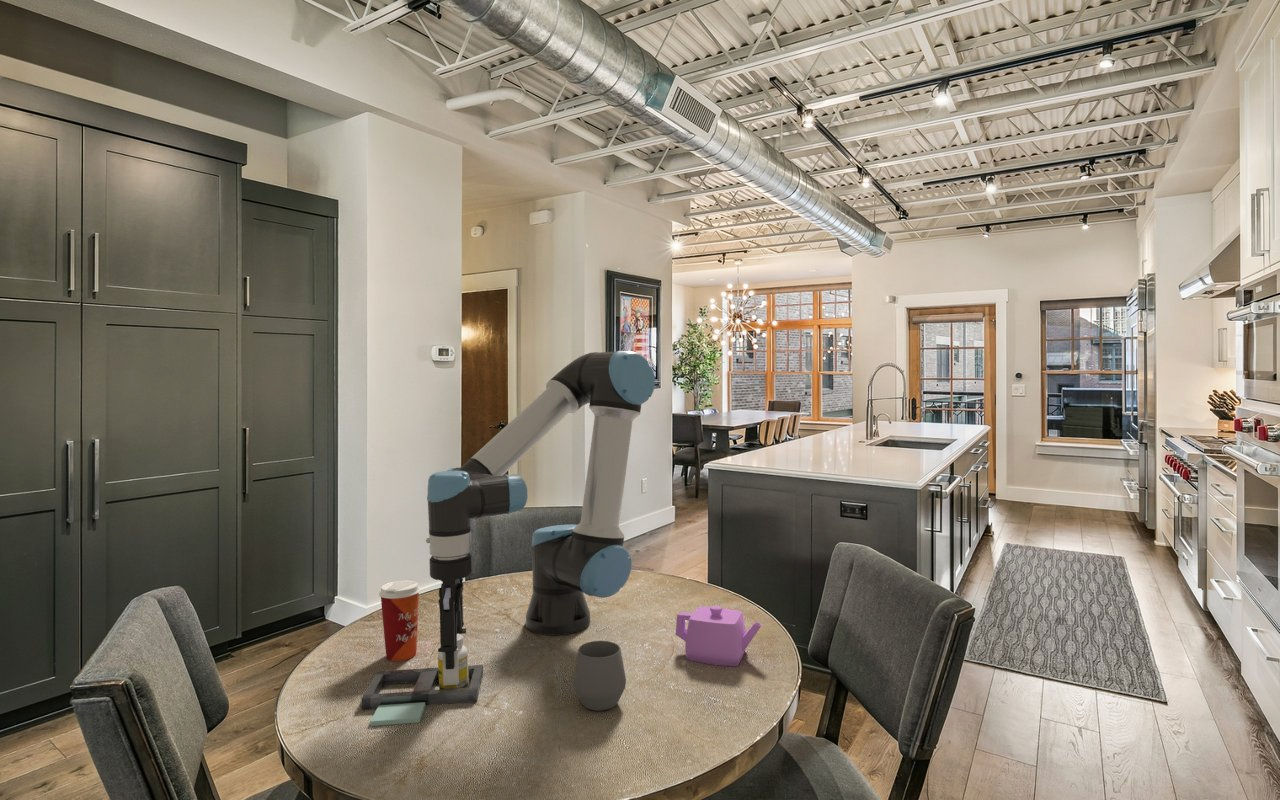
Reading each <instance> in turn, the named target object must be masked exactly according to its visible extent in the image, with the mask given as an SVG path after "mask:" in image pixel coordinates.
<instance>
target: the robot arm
mask: <svg viewBox="0 0 1280 800" xmlns="http://www.w3.org/2000/svg"><path fill="white" fill-rule="evenodd" d="M655 381H656V379H655V374H654V371H653V367H652V365H650V363H649V361H648V360H647V358H646V357H645V356H643V355H642V354H641V353H638V352H635V351H627V350H626V351H625V350H616V351H605V352H599V351H598V352H597V351H595V352H588V353H585V354H583V355H581V356H579V357H577V358H576V359H574V360H572V361H570V363H568V364H567V365H566V366H564V367H563V368H562V369H561V370H560V371H558V372H557V373H555V375H554V376H553V377H551V379H549V380H548V381H547V383H545V385H546V386H545V387H546V389H545V390H544V391H542V392H541V394H540V395H538V396H537V397H536V398H535V399H534V400H533V401H532V402H531V403H530V404H528V405H527V406H526V407H525V408H524V409H523V410H522V411H521V412H520V413H519V414H518V415H517V416H516V417H514V418H513V419H512V420H511V421H510V422H509V423H508V424H506V425H505V426H504V427H503V428H502V429H500V431H499V432H498V433H497V434H496V435H494V436H493V437H492V438H491V439H490V440H489V441H488V442H487V443H486V444H485V445H484V446H482V447H481V448H480V449H479V450H478V451H477V452H476V453H474V455H473V456H471V457H470V458H469V459H468V460H467V461H466V462H465V463H464V464H463V465H462V466H460V467H455V468H454V467H452V468H449V469H447V470H444V471H443V470H442V471H437V472H434V473H432V474H431V475H430V476H429V478H428V481H427V496H426V501H427V510H428V511H427V512H428V513H427V514H428V534H429V535H428V537H427V538H425V542H426V544H429V555H431V557H430V558H429V577H430V578H432V579H433V580H436V581H440V582H441V585H440V587H439V589H438V597H439V599H438V604H439V635H440V636H439V637H440V644H439V645H440V647H439V648H437V652H438V653H439V652H442V653H443V685H457V684H459V661H458V648H457V634H461V635H464V634H465V635H466V634H467V628H463V627H464V625H465V623H464V606H463V605H464V603H463V601H464V600H463V599H464V597H463V591H464V583H463V582H464V578H467V577H469V576H470V575H471V573H472V570H473V569H472V555H471V554H470V552H471V551H472V531H471V524H472V523H471V522H472V520H479V519H482V518H489V517H494V516H501V515H510V514H512V513H516V512H519V511H522V510H523V509H524V508H525V506H526V505H527V503H528V487H527V484H526V481H525V480H524V479H523V477H522V476H521V475H520V474H519V475H518V474H516V473H515V474H514V473H513V474H507V472H508V471H509V470H511V469H512V468H513V466H514V465H516V464H517V463H518V462H519V461H520V460H521V459H522V458H523V457H524V456H525V455H526V454H527V453H528V452H529V451H530V450H531V449H532V448H534V447H535V446H536V445H537V444H538V443H539V442H540V440H542V439H543V438H544V437H546V435H547V434H548V433H549V432H550V431H551V430H552V429H553V428H555V426H556V425H557V424H559V423H560V421H562V420H563V419H564V418H565V417H566V416H567V415H568V414H574V413H576V412H577V411H579V409H581V408H582V407H584V406H585V405H588V404H589V406H588V409H590V411H591V412H592V413H593V415H594V420H593V427H592V435H591V442H590V448H589V449H590V450H589V458H588V465H587V472H586V480H585V485H584V486H585V487H584V492H583V493H584V494H583V501H582V508H581V517H580V522H579V523H578V524H573V523H571V524H560V525H551V526H545V527H540V528H537V529H536V530H535V531H534V532H533V533H532V538H531V539H532V540H531V547H530V548H531V557H532V558H531V561H532V562H531V563H532V564H531V567H532V568H531V569H532V595H531V597H530V601H529V604H528V607H527V610H526V614H525V627H526V629H527V630H529V631H530V632H533V633H534V634H537V635H538V634H540V635H544V636H563V635H564V636H565V635H569V634H573V633H577V632H580V631H582V630H585V629H586V628H588V626H589V625H590V624H591V613H590V607H589V606H588V602H587V600H586V596H585V595H587V596H590V597H596V598H601V599H603V598H604V599H605V598H606V599H607V598H609V597H612V596H614V595H616V594H617V593H618V592H619V591H620V590H621V588H623V587H624V586H625V585H626V583H627V581H628V580H629V578H630V575H631V572H632V565H633V564H632V557H631V556H630V554H629V553H630V552H629V551H628V550H627V549H626V548H625V547H624V544H625V543H624V541H625V534H624V533H623V531H622V530H621V529H620V520H621V513H622V512H621V511H622V504H623V496H624V490H625V489H624V488H625V482H626V476H627V475H626V473H627V466H628V459H629V452H630V451H629V450H630V444H631V443H630V442H631V436H632V435H631V434H632V428H633V422H634V420H635V419H636V418H637V417H639V416H640V415H641V412H642V411H641V409H642V405H643V404H645V403H646V402H648V400H649V398H651V397H652V395H653V394H654V390H655V386H656V382H655Z"/></svg>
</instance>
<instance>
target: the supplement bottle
mask: <svg viewBox="0 0 1280 800" xmlns="http://www.w3.org/2000/svg"><path fill="white" fill-rule="evenodd" d="M457 648H458V661H459V684H457V685H443V653H442V652H438V653H437V665H438V667H437V668H438V672H439V681H438V690H440V689H455V688H469V686H470V684H469V683H470V682H469V681H470V679H469V678H468V666H469V659H468V656H469V655H468V648H467V647H466V646H465V645H464V634H457Z"/></svg>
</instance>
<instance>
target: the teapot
mask: <svg viewBox="0 0 1280 800" xmlns="http://www.w3.org/2000/svg"><path fill="white" fill-rule="evenodd" d="M686 621H688V623H687V627H686ZM675 625H676V626H675V636H677V637H679V638H680V639H681V640H683V641H684V642H685V649H684V652H685V655H686V656H685V657H686V659H687V660H688V661H690V662H694V663H695V662H696V663H701V664H707V665H713V666H721V667H722V666H724V667H738V666H739V664H740V663H741V661H742V659H743V656H744V655H745V651H746V649H747V647H748V646H750V645H749V644H750V643H751V642H752V641H753V639H754V637H755V636H756V634H757V633H758V631H760V628H761V627H762V623H761V622H758V621H754V622H753V624H752V625H751V626H750V627H749V628H748V629H747V630H746V624H745V619H744V614H743V611H742V610H738V609H729V608H723V607H722V606H720V605H712V606H698V607H697V608H696V609H695V610H694V611H693V612H684V611H682V612H681V611H679V612H678V614H677V615H676V624H675Z"/></svg>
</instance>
